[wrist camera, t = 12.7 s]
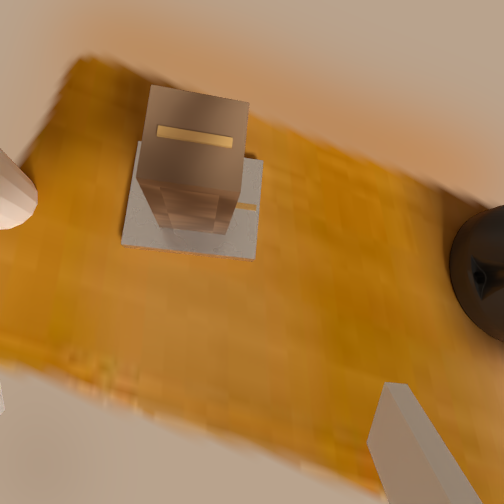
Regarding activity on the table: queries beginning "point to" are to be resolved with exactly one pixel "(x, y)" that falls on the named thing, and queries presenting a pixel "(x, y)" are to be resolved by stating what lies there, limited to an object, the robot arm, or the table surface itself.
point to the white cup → (15, 194)
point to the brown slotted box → (192, 159)
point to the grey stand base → (190, 242)
